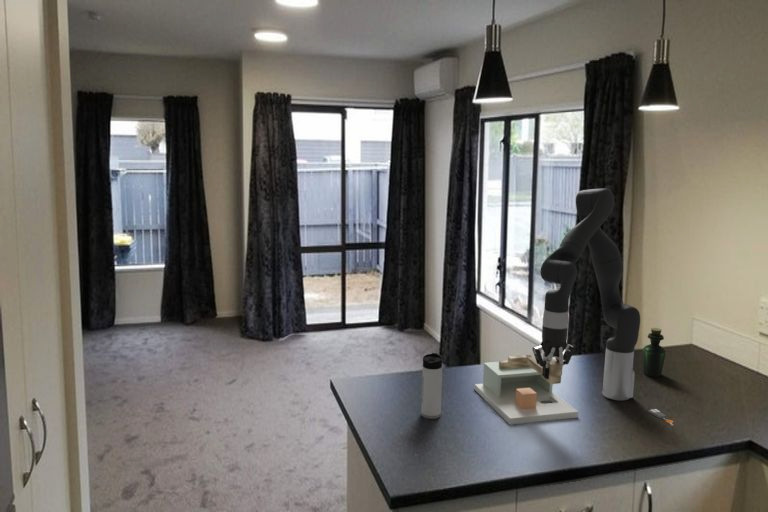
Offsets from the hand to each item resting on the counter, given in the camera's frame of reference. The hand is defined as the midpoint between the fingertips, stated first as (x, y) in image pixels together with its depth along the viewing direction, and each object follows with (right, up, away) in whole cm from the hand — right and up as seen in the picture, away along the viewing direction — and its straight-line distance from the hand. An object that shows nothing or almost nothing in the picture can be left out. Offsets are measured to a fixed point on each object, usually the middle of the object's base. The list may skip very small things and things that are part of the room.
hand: (551, 377), depth 190 cm
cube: (-6, -12, +11) cm, 17 cm away
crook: (-4, 0, +6) cm, 8 cm away
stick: (-5, -1, +25) cm, 25 cm away
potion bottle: (+52, -8, +47) cm, 71 cm away
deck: (-5, -12, +18) cm, 23 cm away
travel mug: (-37, -14, +8) cm, 40 cm away
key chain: (+39, -16, +7) cm, 42 cm away
